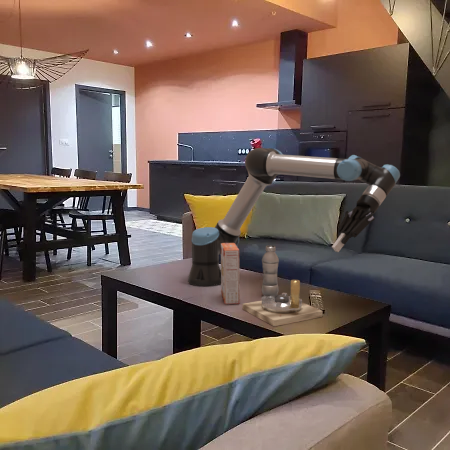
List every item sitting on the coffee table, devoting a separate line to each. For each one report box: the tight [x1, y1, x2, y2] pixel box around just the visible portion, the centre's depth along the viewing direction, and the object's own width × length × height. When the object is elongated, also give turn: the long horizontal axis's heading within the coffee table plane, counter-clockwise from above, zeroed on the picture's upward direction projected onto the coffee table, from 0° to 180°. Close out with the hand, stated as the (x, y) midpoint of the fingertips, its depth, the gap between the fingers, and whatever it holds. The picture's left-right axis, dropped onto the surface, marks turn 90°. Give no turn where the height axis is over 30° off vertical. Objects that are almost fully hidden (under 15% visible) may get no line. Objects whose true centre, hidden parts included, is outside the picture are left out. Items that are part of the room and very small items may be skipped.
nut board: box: [242, 300, 324, 327], centre depth 166 cm, size 20×20×2 cm
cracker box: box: [220, 243, 240, 305], centre depth 181 cm, size 14×6×21 cm, turn 6°
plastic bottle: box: [261, 244, 280, 296], centre depth 185 cm, size 6×7×20 cm
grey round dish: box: [261, 279, 303, 313], centre depth 164 cm, size 16×14×11 cm
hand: (335, 249), depth 168 cm, fingers closed
